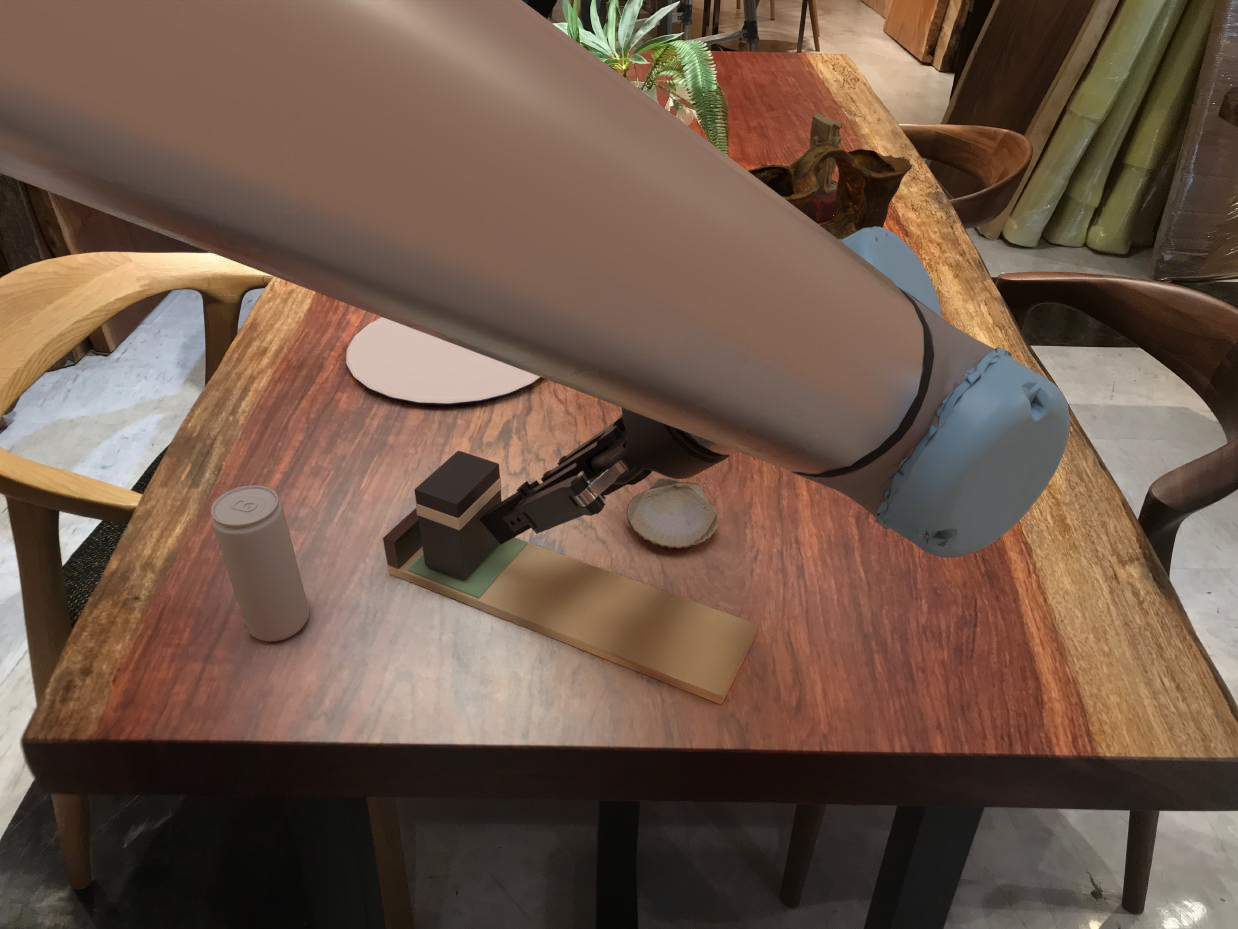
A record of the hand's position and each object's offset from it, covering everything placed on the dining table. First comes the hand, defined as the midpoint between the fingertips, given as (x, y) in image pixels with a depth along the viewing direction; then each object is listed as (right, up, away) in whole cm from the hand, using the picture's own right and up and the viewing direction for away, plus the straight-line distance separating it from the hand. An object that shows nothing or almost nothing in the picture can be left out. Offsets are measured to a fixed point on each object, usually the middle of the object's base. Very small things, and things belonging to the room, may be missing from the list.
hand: (495, 526), depth 72 cm
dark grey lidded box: (-3, -2, +3) cm, 5 cm away
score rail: (+6, -6, +1) cm, 9 cm away
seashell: (+15, -1, +9) cm, 18 cm away
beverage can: (-17, -8, -2) cm, 19 cm away
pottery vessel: (+36, +28, +50) cm, 68 cm away
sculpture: (+43, +47, +75) cm, 98 cm away
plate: (-9, +18, +34) cm, 39 cm away
